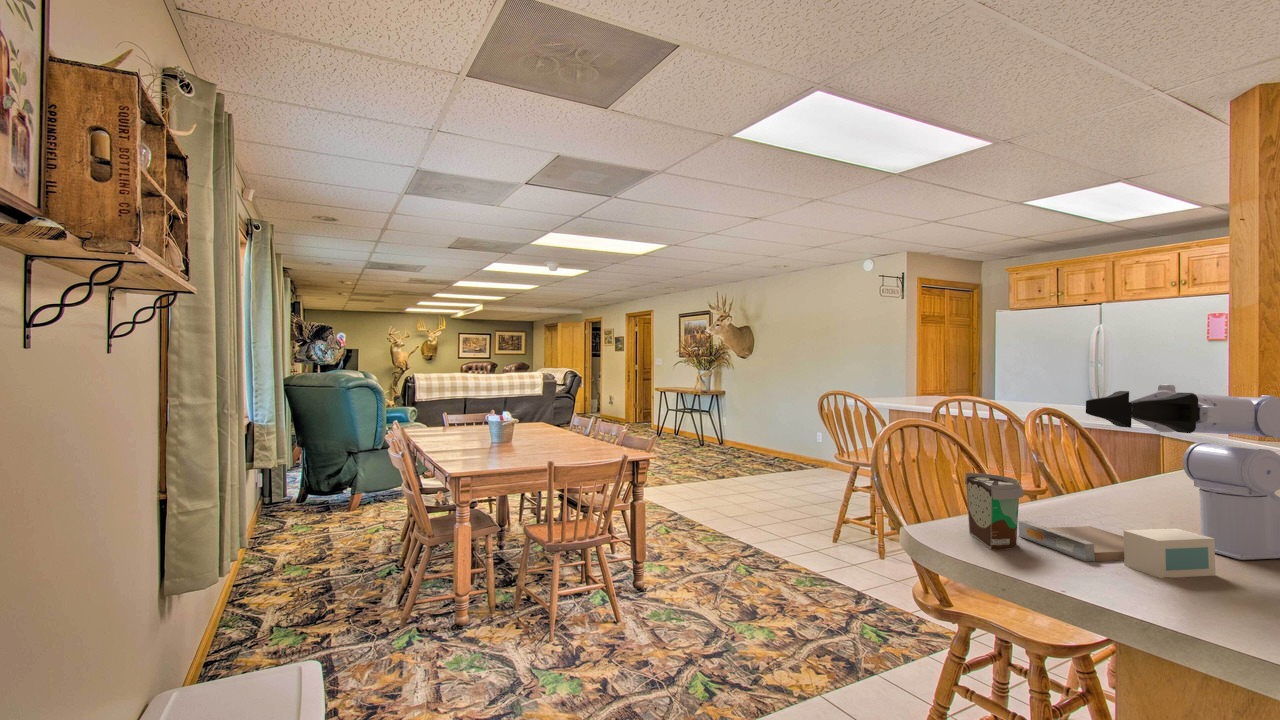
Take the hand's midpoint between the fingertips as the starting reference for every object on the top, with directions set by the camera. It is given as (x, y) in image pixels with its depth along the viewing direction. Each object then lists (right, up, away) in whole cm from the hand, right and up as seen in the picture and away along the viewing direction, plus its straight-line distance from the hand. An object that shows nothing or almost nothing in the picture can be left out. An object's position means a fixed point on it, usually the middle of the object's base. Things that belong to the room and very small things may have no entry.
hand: (1109, 408), depth 85 cm
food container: (-11, -22, +8) cm, 26 cm away
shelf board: (+1, -22, +5) cm, 22 cm away
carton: (+3, -22, -6) cm, 23 cm away
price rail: (-5, -22, +4) cm, 23 cm away
